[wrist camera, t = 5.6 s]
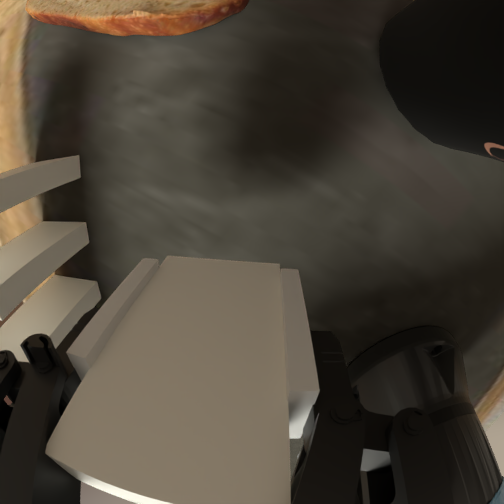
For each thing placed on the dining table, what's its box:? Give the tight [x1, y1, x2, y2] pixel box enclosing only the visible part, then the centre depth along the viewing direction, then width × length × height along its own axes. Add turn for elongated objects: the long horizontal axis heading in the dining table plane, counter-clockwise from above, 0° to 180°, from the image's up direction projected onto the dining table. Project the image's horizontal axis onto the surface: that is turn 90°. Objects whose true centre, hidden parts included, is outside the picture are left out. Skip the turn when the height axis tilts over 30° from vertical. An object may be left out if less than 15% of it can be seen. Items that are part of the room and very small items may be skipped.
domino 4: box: [45, 256, 291, 504], centre depth 9 cm, size 2×6×11 cm, turn 87°
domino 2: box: [0, 221, 89, 320], centre depth 14 cm, size 2×6×11 cm, turn 87°
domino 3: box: [0, 275, 101, 362], centre depth 17 cm, size 2×6×11 cm, turn 87°
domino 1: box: [0, 155, 81, 213], centre depth 12 cm, size 2×6×11 cm, turn 87°
